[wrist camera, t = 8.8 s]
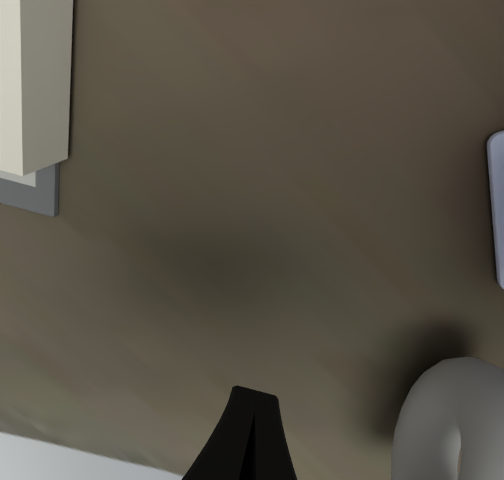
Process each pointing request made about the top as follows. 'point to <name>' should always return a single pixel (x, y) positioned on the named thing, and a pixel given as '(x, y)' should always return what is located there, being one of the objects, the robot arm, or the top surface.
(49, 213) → the mat
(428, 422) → the donut
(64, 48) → the card box
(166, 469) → the top surface
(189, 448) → the top surface
